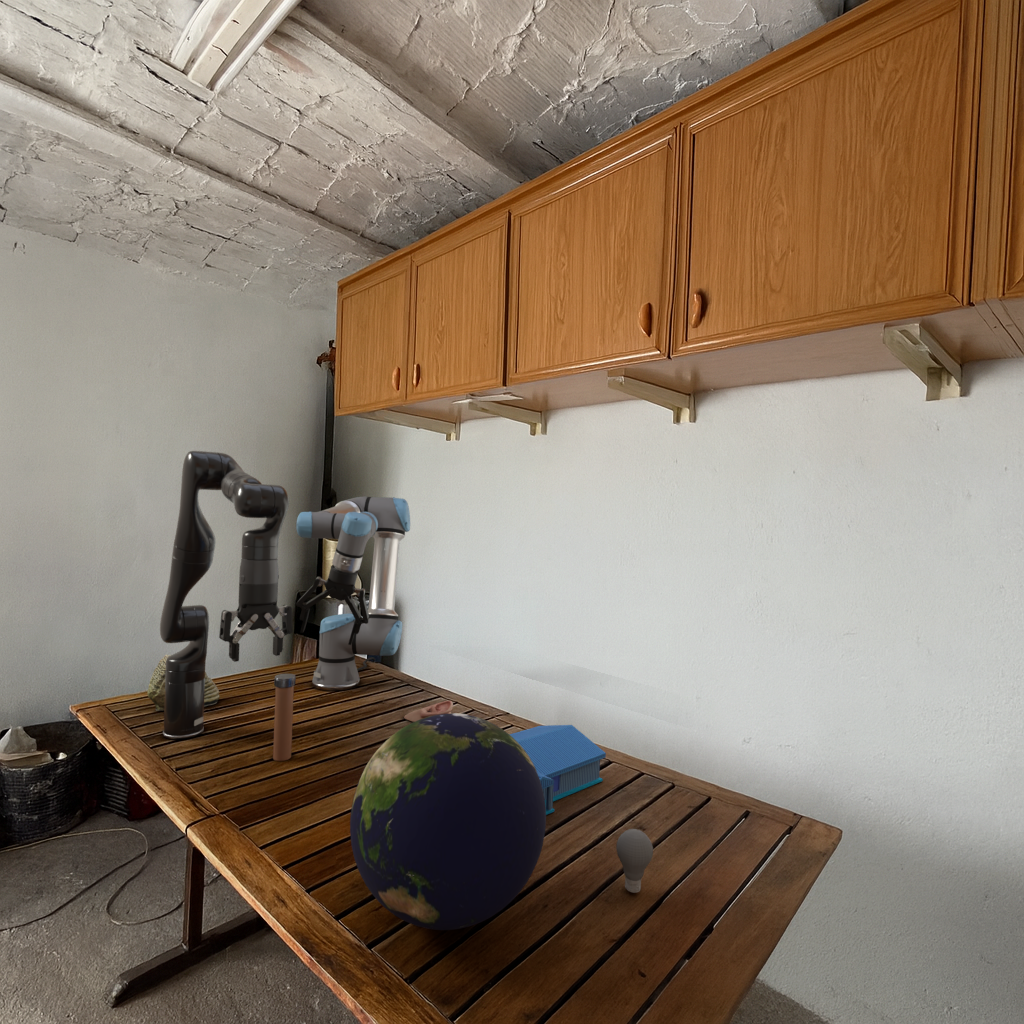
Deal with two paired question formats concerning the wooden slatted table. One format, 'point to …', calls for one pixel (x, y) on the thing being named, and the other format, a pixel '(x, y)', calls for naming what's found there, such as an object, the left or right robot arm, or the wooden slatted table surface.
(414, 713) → the anatomical model
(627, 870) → the light bulb
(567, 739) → the model building
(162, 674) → the fossil
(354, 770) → the wooden slatted table surface
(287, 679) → the lid
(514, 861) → the globe
